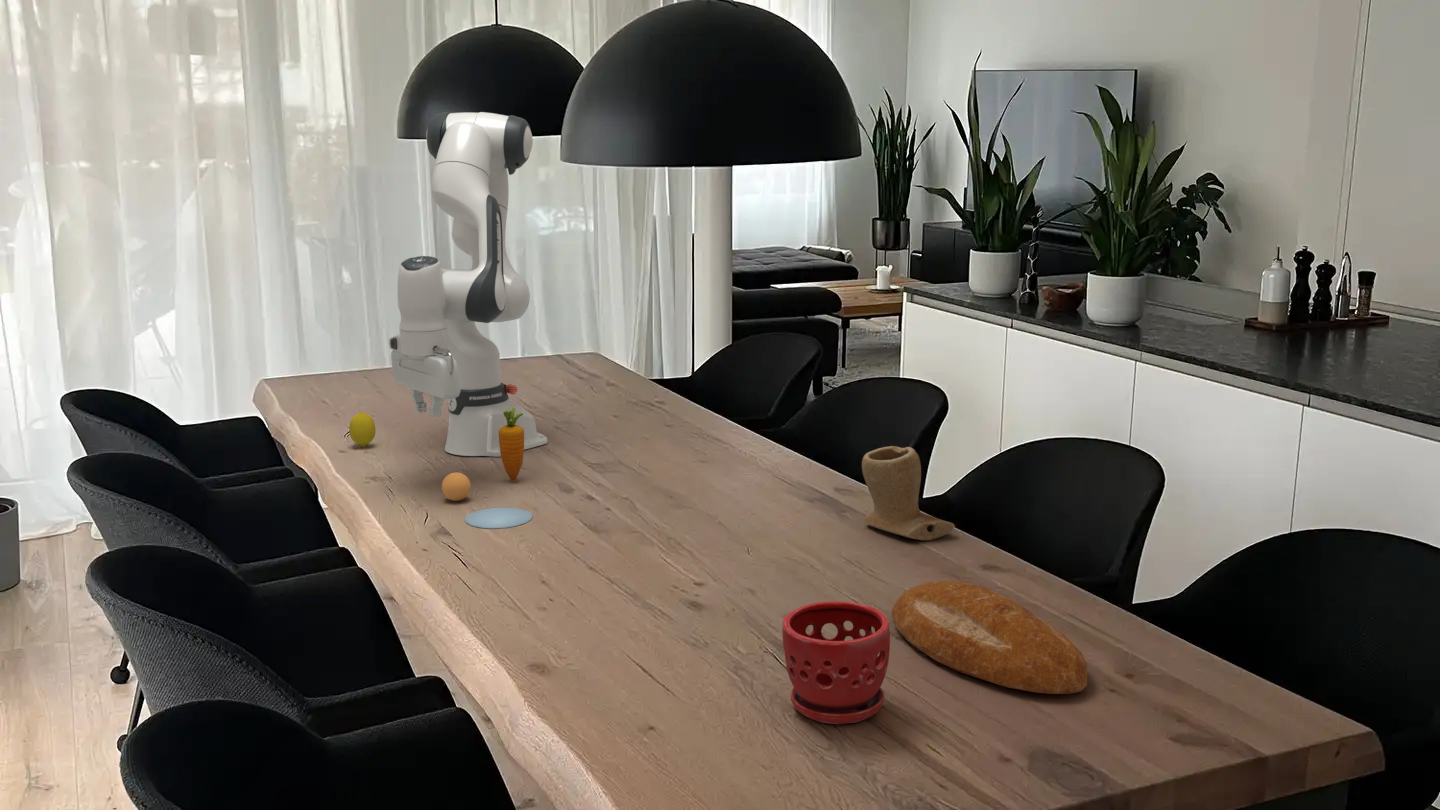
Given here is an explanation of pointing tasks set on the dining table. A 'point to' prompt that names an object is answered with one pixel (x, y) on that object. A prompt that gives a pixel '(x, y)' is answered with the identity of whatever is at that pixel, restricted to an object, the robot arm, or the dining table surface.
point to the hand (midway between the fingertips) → (428, 414)
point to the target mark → (498, 518)
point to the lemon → (362, 429)
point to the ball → (456, 486)
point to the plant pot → (836, 661)
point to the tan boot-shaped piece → (899, 494)
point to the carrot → (511, 444)
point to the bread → (989, 638)
